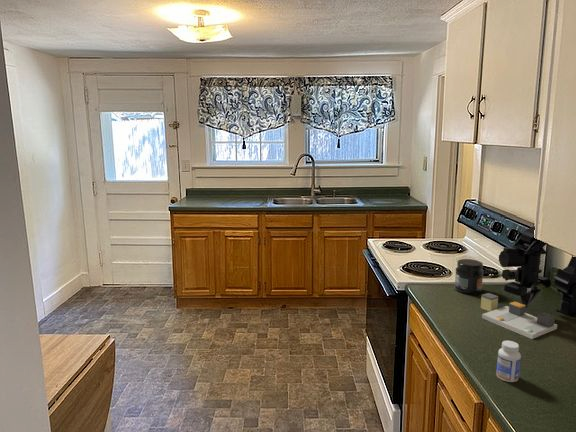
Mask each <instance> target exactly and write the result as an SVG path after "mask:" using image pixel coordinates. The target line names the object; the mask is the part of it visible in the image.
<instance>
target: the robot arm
mask: <svg viewBox="0 0 576 432" xmlns="http://www.w3.org/2000/svg"><path fill="white" fill-rule="evenodd" d="M535 226H536V225H535ZM535 226H532V227H528V228H527V229H525V230H523V231H522V232H521V235H520V236H519V238H518V239H517V240H516V241H515V243H514V244H513V245H512V247H509V246H507V247H506V246H505V247H503V249H502V251H500V253H499V255H498V263H499V264H500V266H501V267H502V268H508V269H503V270H502V272H501V278H502V279H504V281H507V282H508V281H510V280H511V282H508V283H506V284H505V285H504V286H503V287H504V288H503V291H504V292H506V293H509V294H512V295H516V296H518V297H520V301H521V304H523V305H526V307H525V309H528V308H529V306H530V305H531V304H532V303H533V301H534V299H535V298H536V297H537V296H538V294H540V292H541V291H542V289H539V288H538V286H540V285H543V287H544V288H546V289H547V288H550V287H551V285H552V281H551V279H550V278H548V277H544V276H541V275H539V274H542V272H543V269H540V267H541V266H540V265H541V258H542V255H547V254H548V252H547V250H546V249H544V247H545V246H547V245H548V243H544V242H542V241H540V240H537V239H535V238H534V230H535ZM509 268H516V269H511V270H510V269H509ZM553 279H554V281H553V282H554V283H553V284H554V286H555V287H556V291H557V293H558V294H559V293H560V294H561V295H562V296H561V301H560V307H558V308H556V309H555V311H556V312H560V313H561V314H564V315H568V316H570V317H574V318H575V317H576V257H573V255H571V258H570V260H569V262H568V264H567V266H566V267H564V268H558V270H557V272H556V274H555V276H554V277H553ZM513 280H514V281H513Z"/></svg>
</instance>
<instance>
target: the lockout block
mask: <svg viewBox="0 0 576 432" xmlns="http://www.w3.org/2000/svg"><path fill="white" fill-rule="evenodd" d="M480 300H481V301H480V309H482V310H485V311H487V312H490V311H493V310H496V309H498V305H499V304H498V302H499V296H498V295H496V294H493V293H490V292H488V293H483V294H481V297H480Z"/></svg>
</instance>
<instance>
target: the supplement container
mask: <svg viewBox="0 0 576 432" xmlns="http://www.w3.org/2000/svg"><path fill="white" fill-rule="evenodd" d="M456 265H457V266H456V268H455V278H454V287H453V288H454V289H455V290H456V291H457V292H459V293H461V294H466V295H478V294H479V293H481V292H482V290H483V281H484V280H483V279H484V269H483V267H484V264H483V262H482V261H480V260H476V259H471V258H461V259H459V260H457V264H456Z"/></svg>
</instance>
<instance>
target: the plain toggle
mask: <svg viewBox="0 0 576 432" xmlns="http://www.w3.org/2000/svg"><path fill="white" fill-rule="evenodd" d="M536 317H537V323H539V324H542V325H544V326H547V327H551V326H553V325H554V324H555V321H556V320H555V319H556V316H554V315H552V314H549V313H546V312H543V311H542V312H541V313H540V312H539V313H538V314H537V316H536Z"/></svg>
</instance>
